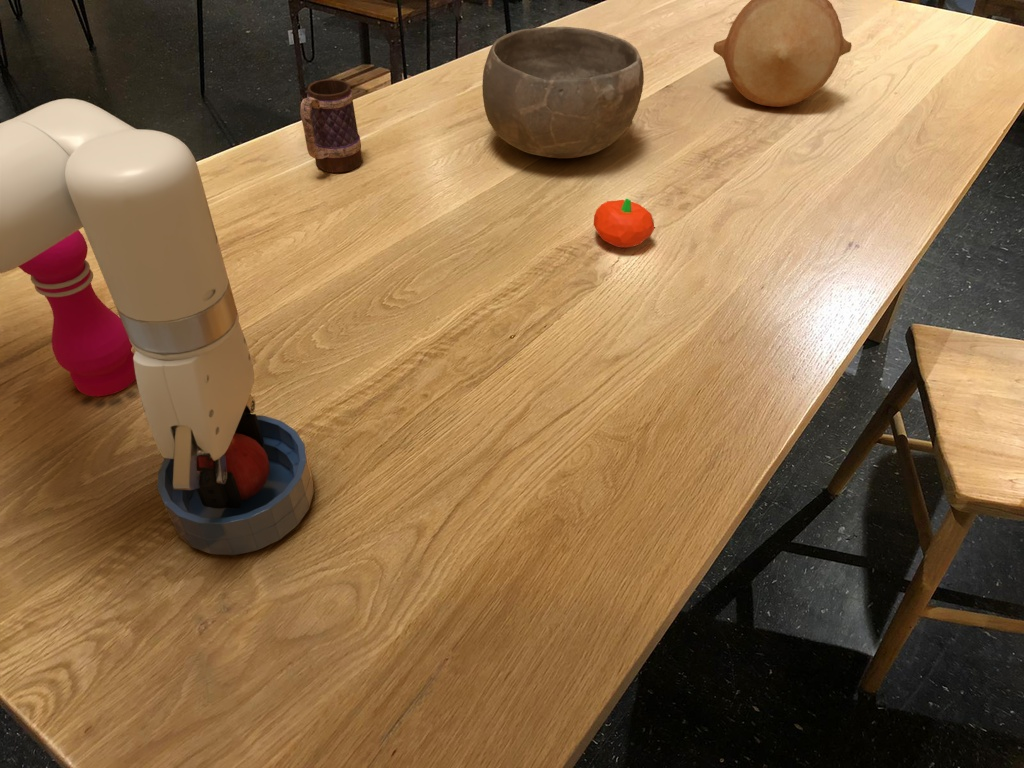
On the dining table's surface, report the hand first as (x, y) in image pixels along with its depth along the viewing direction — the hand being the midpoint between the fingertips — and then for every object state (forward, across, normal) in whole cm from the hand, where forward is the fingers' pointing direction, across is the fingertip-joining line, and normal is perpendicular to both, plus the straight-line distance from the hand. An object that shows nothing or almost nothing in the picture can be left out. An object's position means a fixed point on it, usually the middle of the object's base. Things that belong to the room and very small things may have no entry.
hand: (234, 473), depth 66 cm
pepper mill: (+4, -15, -19) cm, 25 cm away
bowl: (+4, -73, +29) cm, 79 cm away
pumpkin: (+4, -46, +37) cm, 59 cm away
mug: (+4, -63, -5) cm, 63 cm away
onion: (+3, 0, 0) cm, 3 cm away
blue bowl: (+4, 0, 0) cm, 4 cm away
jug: (+4, -101, +69) cm, 122 cm away
